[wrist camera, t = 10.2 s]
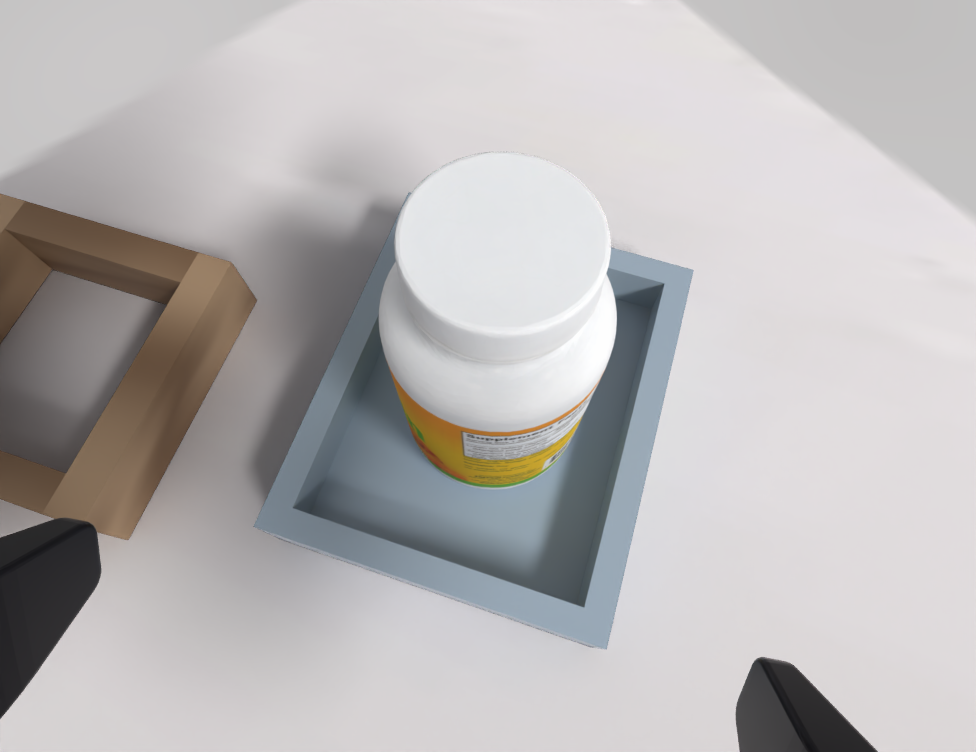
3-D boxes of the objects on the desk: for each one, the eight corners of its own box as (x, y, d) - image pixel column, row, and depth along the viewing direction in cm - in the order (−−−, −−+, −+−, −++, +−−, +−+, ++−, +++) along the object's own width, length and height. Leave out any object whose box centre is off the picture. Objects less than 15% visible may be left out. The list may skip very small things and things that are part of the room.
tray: (590, 647, 18) (606, 649, 16) (280, 539, 19) (253, 526, 17) (671, 307, 23) (693, 269, 20) (415, 234, 24) (409, 192, 21)
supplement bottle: (400, 348, 21) (341, 137, 12) (556, 326, 21) (611, 105, 12) (420, 506, 19) (365, 394, 10) (591, 478, 19) (688, 346, 10)
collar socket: (128, 540, 19) (79, 527, 17) (-115, 453, 20) (-193, 430, 18) (256, 300, 23) (231, 262, 20) (42, 235, 24) (-6, 192, 21)
